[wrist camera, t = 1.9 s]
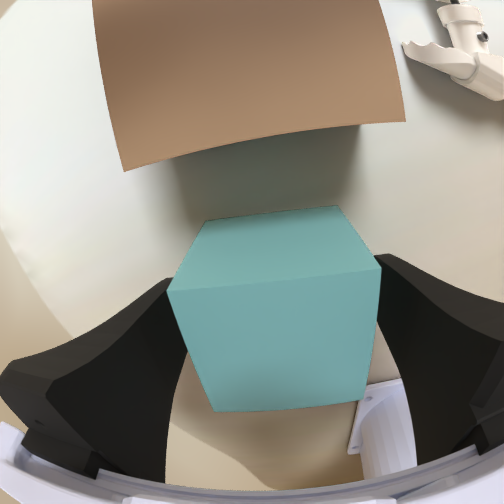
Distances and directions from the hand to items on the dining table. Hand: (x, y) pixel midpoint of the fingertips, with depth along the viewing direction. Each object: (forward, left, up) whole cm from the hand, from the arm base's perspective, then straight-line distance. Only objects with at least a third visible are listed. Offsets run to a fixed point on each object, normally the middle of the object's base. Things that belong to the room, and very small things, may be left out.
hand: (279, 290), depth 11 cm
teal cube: (0, 0, -2) cm, 2 cm away
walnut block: (+9, 0, -2) cm, 9 cm away
